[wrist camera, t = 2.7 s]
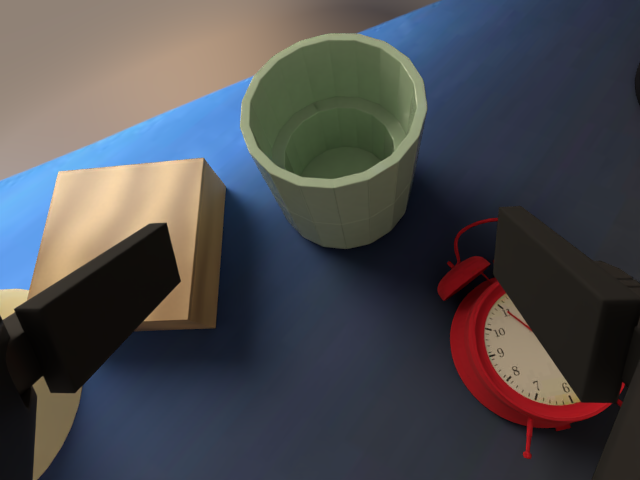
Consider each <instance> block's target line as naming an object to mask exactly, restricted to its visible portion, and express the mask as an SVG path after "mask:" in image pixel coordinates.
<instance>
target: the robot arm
mask: <svg viewBox="0 0 640 480" xmlns="http://www.w3.org/2000/svg"><path fill="white" fill-rule="evenodd" d="M635 90H636V96H637V99H638V102H639V105H640V63H639V66H638V68H637V72H636V77H635ZM493 275H494V276H495V278H496V279H497V281H498V282H499V284H500V285H501V286H502V288H503V289H504V291H505V292H506V294H507V295H508V297H509V298H510V300H511V301H512V302H513V304H514V305H515V307H516V308H517V310H518V311H519V313H520V314H521V316H522V317H523V318H524V320H525V321H526V323H527V324H528V326H529V327H530V329H531V330H532V332H533V333H534V334H535V336H536V337H537V339H538V340H539V342H540V343H541V345H542V346H543V348H544V349H545V350H546V352H547V353H548V355H549V356H550V358H551V359H552V361H553V362H554V364H555V365H556V366H557V368H558V369H559V371H560V372H561V374H562V375H563V377H564V378H565V380H566V381H567V382H568V384H569V385H570V387H571V388H572V390H573V391H574V393H575V394H576V396H577V397H578V398H579V400H580V401H581V403H617V401H618V398H619V394H620V390H621V386H622V382H623V383H624V384H625V385H626V386H627V387H628V390H627V393H626V395H625V398H624V400H623V403H622V405H621V408H620V410H619V413H618V415H617V418H616V420H615V423H614V425H613V428H612V430H611V433H610V435H609V438H608V440H607V443H606V445H605V448H604V450H603V453H602V455H601V458H600V460H599V463H598V465H597V468H596V470H595V473H594V475H593V478H592V480H640V283H639V282H638V281H636V280H633V278H632V277H631V276H629V275H628V274H626V273H625V272H624V271H622V270H621V269H619V268H617V267H614V266H612V265H609V264H607V263H604V262H602V261H593V260H591V259H590V258H589V257H587V256H586V255H585V254H583V253H582V252H581V251H579V250H578V249H577V248H575V247H574V246H573V245H571V244H570V243H569V242H568V241H566V240H565V239H564V238H562V237H561V236H560V235H558V234H557V233H556V232H554V231H553V230H552V229H550V228H549V227H548V226H546V225H545V224H544V223H543V222H541V221H540V220H539V219H537V218H536V217H535V216H533V215H532V214H531V213H529V212H528V211H527V210H525V209H524V208H523V207H521V206H515V207H499V214H498V224H497V235H496V246H495V257H494V268H493ZM180 282H181V279H180V275H179V271H178V267H177V263H176V259H175V255H174V251H173V247H172V243H171V238H170V234H169V230H168V226H167V223H149V224H148V225H146V226H145V227H143V228H141V229H140V230H138V231H137V232H135V233H134V234H132V235H130V236H129V237H127V238H126V239H124V240H122V241H121V242H119V243H118V244H116V245H115V246H113V247H111V248H110V249H108V250H107V251H105V252H103V253H102V254H100V255H99V256H97V257H96V258H94V259H92V260H91V261H89V262H88V263H86V264H84V265H83V266H81V267H80V268H78V269H77V270H75V271H73V272H72V273H70V274H69V275H67V276H65V277H64V278H62V279H61V280H59V281H57V282H56V283H54V284H53V285H51V286H50V287H48V288H46V289H45V290H43V291H42V292H40V293H38V294H37V295H35V296H34V297H32V298H31V299H29V300H27V301H26V302H24V303H23V304H21V305H19V306H18V307H16V308H15V309H14V311H15V312H14V313H13V314H11V315H10V316H8V317H7V318H5V319H3V320H2V318H1V316H0V480H33V465H34V447H35V429H36V411H37V395H36V392H35V390H34V388H33V386H32V385H33V384H34V383H36V382H37V381H38V380H39V379H40V378H41V377H42V376H43V377H44V379H45V381H46V384H47V386H48V388H49V390H50V393H76V392H77V391H78V390H79V389H80V388H81V387H82V386H83V384H84V383H85V382H86V381H87V380H88V379H89V378H90V377H91V376H92V375H93V374H94V373H95V372H96V371H97V370H98V369H99V368H100V367H101V365H102V364H103V363H104V362H105V361H106V360H107V359H108V358H109V357H110V356H111V355H112V354H113V353H114V352H115V351H116V350H117V349H118V348H119V346H120V345H121V344H122V343H123V342H124V341H125V340H126V339H127V338H128V337H129V336H130V335H131V334H132V333H133V332H134V331H135V330H136V329H137V327H138V326H139V325H140V324H141V323H142V322H143V321H144V320H145V319H146V318H147V317H148V316H149V315H150V314H151V313H152V312H153V311H154V310H155V308H156V307H157V306H158V305H159V304H160V303H161V302H162V301H163V300H164V299H165V298H166V297H167V296H168V295H169V294H170V293H171V292H172V291H173V289H174V288H175V287H176V286H177V285H178V284H179V283H180Z"/></svg>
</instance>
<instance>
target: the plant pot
mask: <svg viewBox="0 0 640 480" xmlns="http://www.w3.org/2000/svg"><path fill="white" fill-rule="evenodd" d="M426 114H427V101H426V94H425V87H424V82H423V79H422V78H421V76H420V75H419V73H418V71H417V70H416V68H415V67H414V65H413V64H412V62H411V61H410V59H409V58H408V57H407V56H405V55H404V54H402V53H401V52H400V51H398V50H397V49H395V48H394V47H392V46H391V45H390V44H388V43H387V42H384V41H381V40H378V39H374V38H371V37H368V36H364V35H361V34H325V35H321V36H318V37H313V38H310V39H306V40H302V41H300V42H297V43H295V44H293V45H292V46H290V47H288V48H286V49H285V50H283V51H281V52H279V53H278V54H276V55H274V57H272V58H271V59H270V60H269V61H268V62H267V63H266V64H265V65H264V66H263V67H262V68H261V69H260V70H259V71H258V72H257V73H256V74H255V75H254V77H253V79H252V81H251V83H250V85H249V87H248V89H247V91H246V94H245V96H244V98H243V100H242V105H241V121H240V129H241V132H242V134H243V137H244V140H245V142H246V145H247V148H248V150H249V153H250V155H251V156H252V158H253V160H254V162H255V163H256V165H257V167H258V169H259V171H260V172H261V174H262V176H263V178H264V180H265V181H266V183H267V185H268V187H269V188H270V190H271V192H272V194H273V196H274V197H275V199H276V201H277V203H278V204H279V206H280V208H281V210H282V212H283V213H284V215H285V217H286V219H287V220H288V222H289V223H290V224H291V225H292V226H293V227H294V228H295V229H296V230H297V231H298V233H299V234H300V235H301V236H303V237H304V238H306V239H308V240H310V241H312V242H314V243H316V244H318V245H321V246H323V247H331V248H341V249H350V248H354V247H358V246H363V245H367V244H370V243H373V242H374V241H376V240H377V239H379V238H380V237H382V236H384V235H385V234H387V233H388V232H390V231H391V230H392V229H393V228H394V226H395V225H396V224H397V223H398V221H399V220H400V219H401V217H402V216H403V215H404V214H405V211H406V208H407V204H408V201H409V198H410V194H411V190H412V185H413V180H414V175H415V169H416V164H417V159H418V154H419V149H420V144H421V139H422V134H423V129H424V124H425V119H426Z"/></svg>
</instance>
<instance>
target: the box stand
mask: <svg viewBox="0 0 640 480" xmlns="http://www.w3.org/2000/svg"><path fill="white" fill-rule="evenodd" d="M225 193H226V186H225V185H224V183H223V182H222V181H221V180H220V178H219V177H218V176H217V175H216V173H215V172H214V171H213V169H212V168H211V167H210V166H209V164H208V163H207V162H206V160H205V159H204V158H196V159H186V160H175V161H165V162H154V163H144V164H133V165H123V166H112V167H102V168H91V169H81V170H71V171H60V172H58V176H57V180H56V184H55V188H54V192H53V196H52V200H51V204H50V208H49V212H48V216H47V220H46V224H45V229H44V233H43V237H42V241H41V245H40V249H39V253H38V257H37V261H36V265H35V269H34V273H33V277H32V281H31V285H30V289H29V294H28V298H27V300H29V299H31V298H32V297H34V296H35V295H37V294H38V293H40V292H42V291H43V290H45V289H46V288H48V287H50V286H51V285H53V284H54V283H56V282H57V281H59V280H61V279H62V278H64V277H65V276H67V275H69V274H70V273H72V272H73V271H75V270H77V269H78V268H80V267H81V266H83V265H84V264H86V263H88V262H89V261H91V260H92V259H94V258H96V257H97V256H99V255H100V254H102V253H103V252H105V251H107V250H108V249H110V248H111V247H113V246H115V245H116V244H118V243H119V242H121V241H122V240H124V239H126V238H127V237H129V236H130V235H132V234H134V233H135V232H137V231H138V230H140V229H141V228H143V227H145V226H146V225H148V224H149V223H167V226H168V230H169V234H170V238H171V243H172V247H173V251H174V255H175V259H176V263H177V267H178V271H179V275H180V279H181V282H180V283H179V284H178V285H177V286H176V287H175V288H174V289H173V291H172V292H171V293H170V294H169V295H168V296H167V297H166V298H165V299H164V300H163V301H162V302H161V303H160V304H159V305H158V306H157V307H156V308H155V310H154V311H153V312H152V313H151V314H150V315H149V316H148V317H147V318H146V319H145V320H144V321H143V322H142V323H141V324H140V325H139V326H138V327H137V329H136V330H135V331H155V330H181V329H207V328H216V316H217V303H218V289H219V275H220V261H221V248H222V234H223V220H224V206H225Z"/></svg>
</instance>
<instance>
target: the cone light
mask: <svg viewBox="0 0 640 480" xmlns="http://www.w3.org/2000/svg"><path fill="white" fill-rule="evenodd" d="M28 294H29V290H23V289H4V290H0V316H1V318H2V320H3V319H5V318H7V317H8V316H10V315H11V314H13V313H14V312H15V311H14V309H15V308H16V307H18V306H19V305H21V304H23V303H24V302H26V301H27V298H28ZM32 386H33V388H34V390H35V392H36V395H37V411H36V429H35V447H34V465H33V480H38V478H39V477H40V476H41V475H42V474H43V473H44V472H45V470H46V469H47V468H48V467H49V465H50V464H51V462H52V461H53V459H54V458H55V456H56V455H57V453H58V452H59V450H60V449H61V447H62V445H63V443H64V441H65V439H66V437H67V435H68V433H69V431H70V429H71V427H72V424H73V421H74V418H75V415H76V412H77V409H78V406H79V401H80V396H81V391H82V387H81V388H80V389H79V390H78V391H77V392H76V393H50V390H49V388H48V386H47V384H46V381H45V379H44V377H43V376H42V377H41V378H40V379H39V380H38V381H37V382H36V383H34V384H33V385H32Z"/></svg>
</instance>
